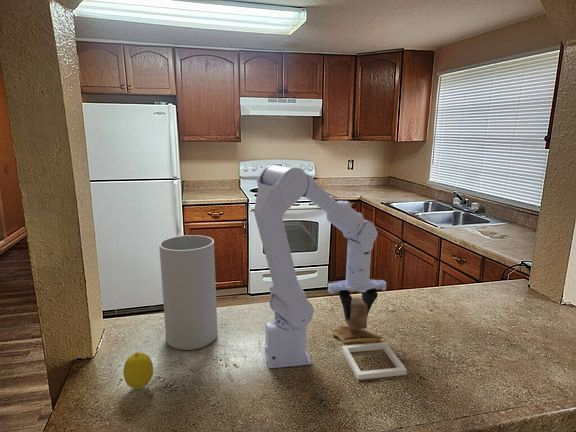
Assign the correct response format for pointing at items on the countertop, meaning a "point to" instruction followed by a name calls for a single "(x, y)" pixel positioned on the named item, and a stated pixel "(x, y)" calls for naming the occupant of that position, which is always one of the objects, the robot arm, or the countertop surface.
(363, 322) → the walnut block
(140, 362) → the lemon
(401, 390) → the countertop surface
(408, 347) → the countertop surface
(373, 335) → the shard
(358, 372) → the white flat square frame
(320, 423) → the countertop surface
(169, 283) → the cylinder vase
